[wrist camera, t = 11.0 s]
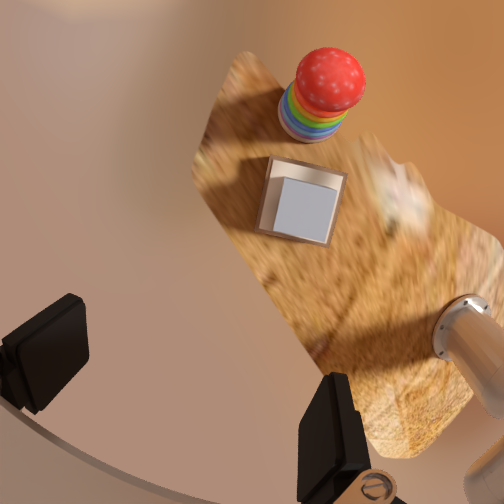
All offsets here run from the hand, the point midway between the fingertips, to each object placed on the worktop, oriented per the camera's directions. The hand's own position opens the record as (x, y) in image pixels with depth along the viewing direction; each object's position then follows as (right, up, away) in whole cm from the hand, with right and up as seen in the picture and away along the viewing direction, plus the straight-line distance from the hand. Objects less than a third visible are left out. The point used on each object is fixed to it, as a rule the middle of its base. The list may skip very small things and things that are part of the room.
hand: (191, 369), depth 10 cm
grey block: (+8, +10, +23) cm, 26 cm away
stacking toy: (+9, +22, +24) cm, 33 cm away
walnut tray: (+8, +11, +27) cm, 30 cm away
